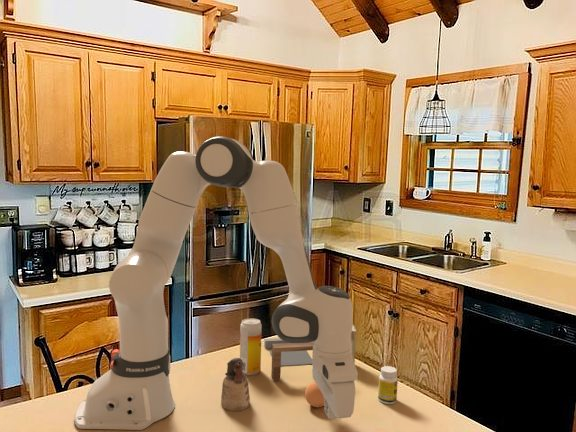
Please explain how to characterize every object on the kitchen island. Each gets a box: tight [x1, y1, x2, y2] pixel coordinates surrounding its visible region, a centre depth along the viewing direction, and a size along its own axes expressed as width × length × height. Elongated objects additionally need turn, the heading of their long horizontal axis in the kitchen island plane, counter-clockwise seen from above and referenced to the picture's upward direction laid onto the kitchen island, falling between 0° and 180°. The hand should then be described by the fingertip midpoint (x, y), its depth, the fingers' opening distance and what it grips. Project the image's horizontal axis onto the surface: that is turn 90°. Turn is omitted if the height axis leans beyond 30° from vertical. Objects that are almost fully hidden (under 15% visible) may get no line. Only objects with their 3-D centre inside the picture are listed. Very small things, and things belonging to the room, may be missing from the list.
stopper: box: [263, 337, 288, 350], centre depth 156 cm, size 14×2×2 cm, turn 102°
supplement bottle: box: [377, 365, 399, 405], centre depth 122 cm, size 5×5×8 cm
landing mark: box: [268, 349, 312, 367], centre depth 147 cm, size 12×12×1 cm
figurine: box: [220, 357, 251, 412], centre depth 117 cm, size 7×7×12 cm
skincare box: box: [350, 324, 357, 366], centre depth 141 cm, size 6×4×12 cm
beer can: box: [239, 317, 263, 376], centre depth 136 cm, size 6×6×15 cm
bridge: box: [270, 342, 313, 382], centre depth 133 cm, size 3×17×10 cm, turn 102°
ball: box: [304, 381, 325, 408], centre depth 118 cm, size 6×6×6 cm
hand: (330, 415), depth 108 cm, fingers closed
